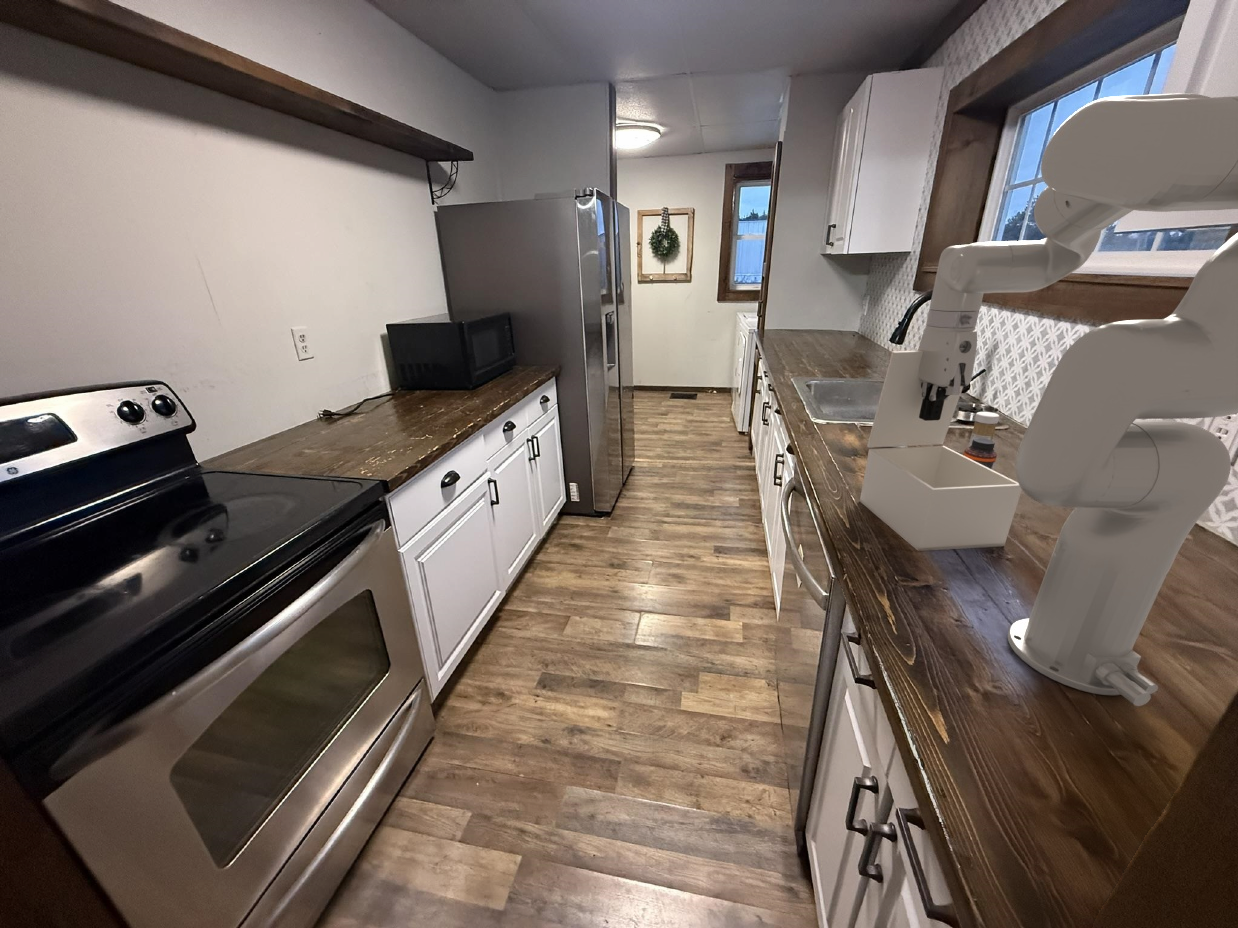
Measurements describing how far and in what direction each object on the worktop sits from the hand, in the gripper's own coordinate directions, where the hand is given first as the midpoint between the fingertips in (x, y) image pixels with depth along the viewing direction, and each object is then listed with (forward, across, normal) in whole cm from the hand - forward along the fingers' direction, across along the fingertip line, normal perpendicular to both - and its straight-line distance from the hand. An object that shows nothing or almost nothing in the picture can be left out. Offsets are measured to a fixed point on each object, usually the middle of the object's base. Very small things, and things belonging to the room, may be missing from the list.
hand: (929, 419), depth 95 cm
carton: (+20, -5, 0) cm, 20 cm away
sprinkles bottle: (+20, +21, -30) cm, 41 cm away
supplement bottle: (+20, +9, -20) cm, 29 cm away
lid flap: (-3, +4, 0) cm, 5 cm away
